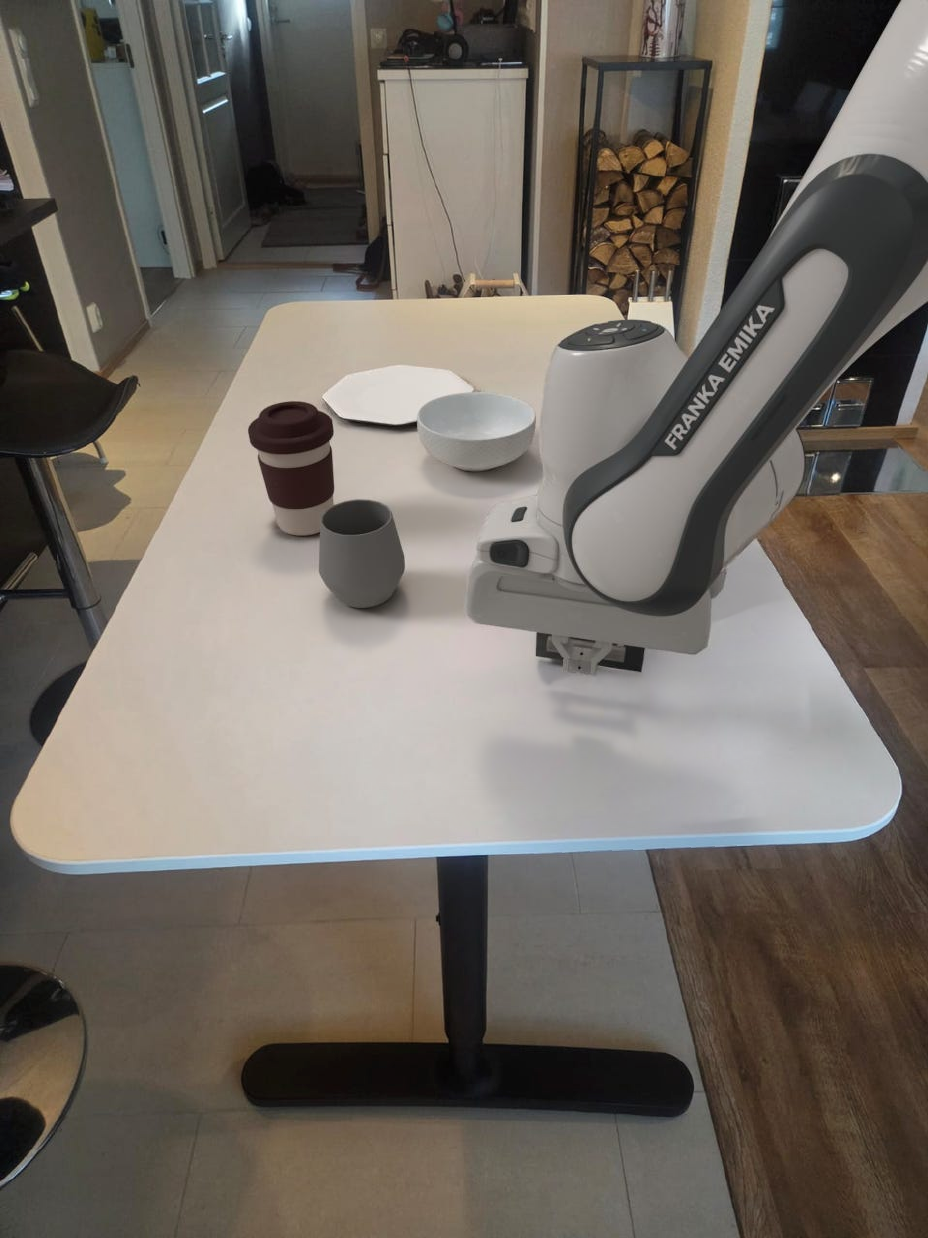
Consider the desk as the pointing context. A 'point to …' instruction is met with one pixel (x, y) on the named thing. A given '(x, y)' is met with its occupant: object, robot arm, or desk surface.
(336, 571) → the cup
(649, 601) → the robot arm
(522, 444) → the cereal bowl
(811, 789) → the desk surface
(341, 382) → the plate
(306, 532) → the coffee cup
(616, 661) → the drawer
